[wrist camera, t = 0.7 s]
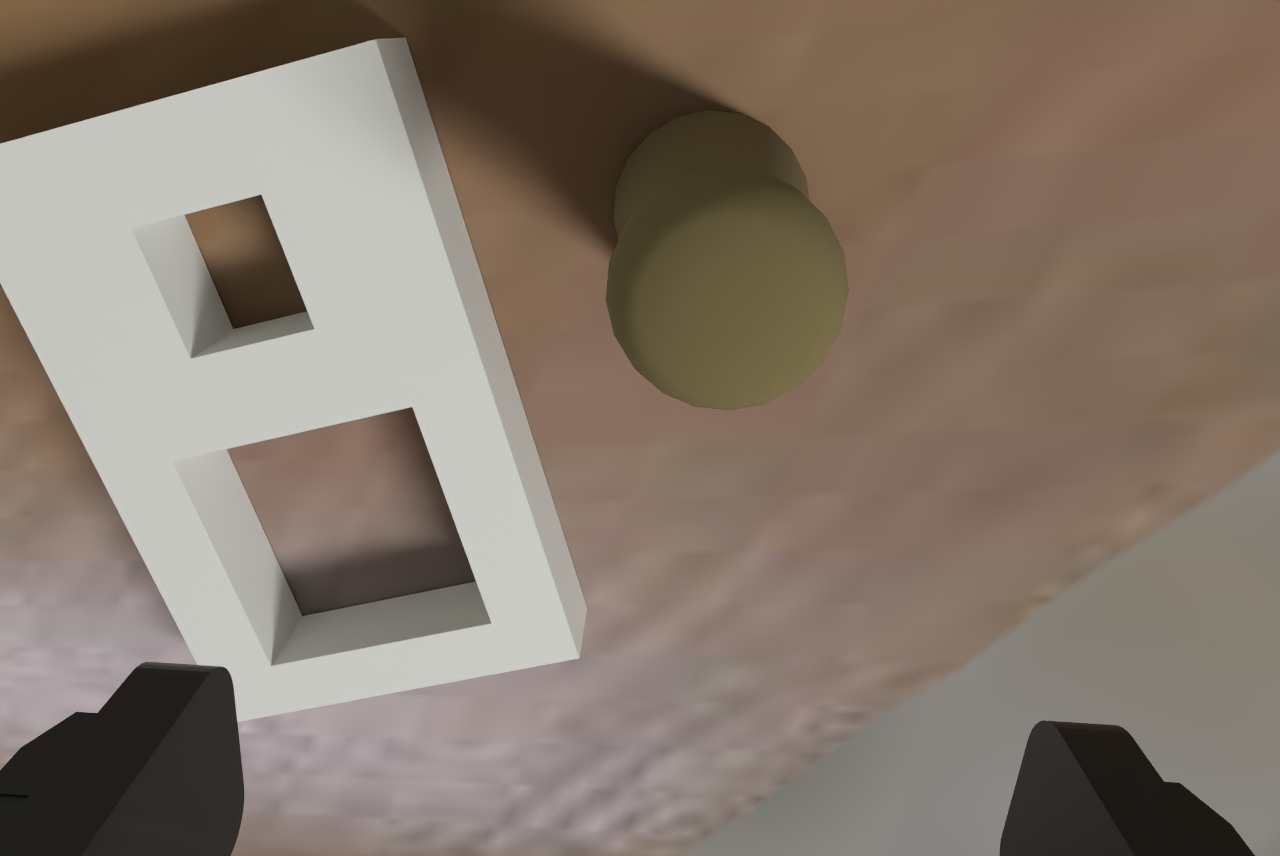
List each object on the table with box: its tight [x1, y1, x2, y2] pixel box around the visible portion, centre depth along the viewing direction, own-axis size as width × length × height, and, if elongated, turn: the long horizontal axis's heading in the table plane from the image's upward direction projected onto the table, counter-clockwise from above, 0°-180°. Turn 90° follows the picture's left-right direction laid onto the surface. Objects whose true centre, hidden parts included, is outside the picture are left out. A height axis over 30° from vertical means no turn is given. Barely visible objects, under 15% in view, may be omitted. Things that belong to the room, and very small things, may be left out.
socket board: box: [0, 38, 587, 722], centre depth 31 cm, size 13×20×3 cm, turn 14°
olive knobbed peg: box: [606, 110, 849, 410], centre depth 24 cm, size 6×6×11 cm
